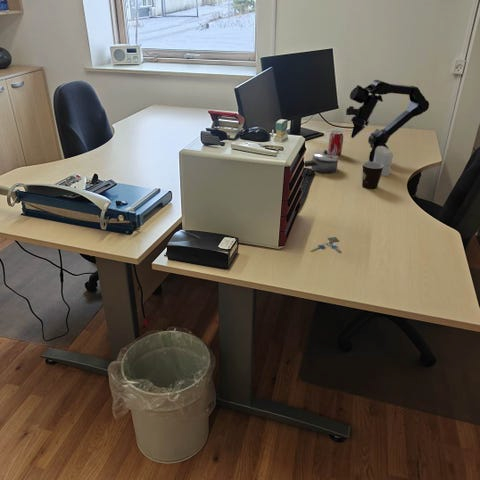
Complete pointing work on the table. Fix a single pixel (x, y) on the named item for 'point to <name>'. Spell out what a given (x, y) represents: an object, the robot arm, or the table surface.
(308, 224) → the table surface
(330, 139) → the soda can
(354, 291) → the table surface
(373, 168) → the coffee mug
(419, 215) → the table surface
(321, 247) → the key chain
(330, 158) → the cooker lid
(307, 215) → the table surface
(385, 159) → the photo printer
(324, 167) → the pressure cooker pot
